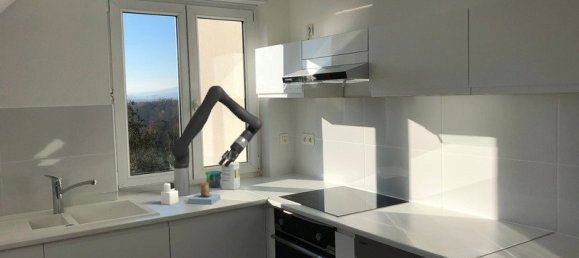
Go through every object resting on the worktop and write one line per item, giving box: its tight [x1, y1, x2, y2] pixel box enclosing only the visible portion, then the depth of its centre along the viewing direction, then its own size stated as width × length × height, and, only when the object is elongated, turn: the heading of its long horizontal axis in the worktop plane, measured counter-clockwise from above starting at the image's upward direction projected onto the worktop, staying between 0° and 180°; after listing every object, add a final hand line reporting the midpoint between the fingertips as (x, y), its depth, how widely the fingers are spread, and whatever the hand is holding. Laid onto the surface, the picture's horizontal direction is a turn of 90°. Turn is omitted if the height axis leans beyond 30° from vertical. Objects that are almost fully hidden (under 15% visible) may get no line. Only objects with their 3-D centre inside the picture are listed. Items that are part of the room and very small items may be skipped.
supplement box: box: [220, 162, 241, 191], centre depth 326 cm, size 10×9×17 cm
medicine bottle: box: [160, 181, 179, 206], centre depth 286 cm, size 7×7×12 cm
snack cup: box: [205, 170, 222, 188], centre depth 334 cm, size 16×10×10 cm
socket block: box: [188, 193, 222, 205], centre depth 289 cm, size 14×14×3 cm
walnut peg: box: [200, 181, 210, 198], centre depth 289 cm, size 5×5×11 cm
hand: (222, 165), depth 295 cm, fingers open, 8 cm apart
